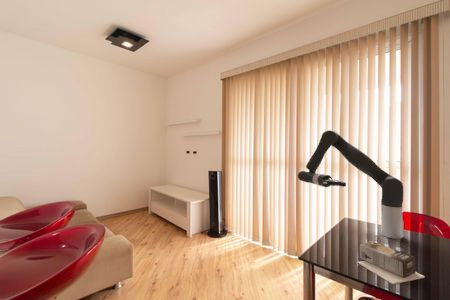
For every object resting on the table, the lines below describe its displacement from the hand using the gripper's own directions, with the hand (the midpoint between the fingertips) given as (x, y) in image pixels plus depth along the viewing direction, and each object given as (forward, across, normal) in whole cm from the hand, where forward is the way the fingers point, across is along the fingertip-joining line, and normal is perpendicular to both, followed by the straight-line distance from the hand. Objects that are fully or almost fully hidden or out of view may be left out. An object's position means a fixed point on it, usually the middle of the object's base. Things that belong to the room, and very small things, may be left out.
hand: (344, 184), depth 110 cm
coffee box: (+17, -6, +26) cm, 32 cm away
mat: (+27, -5, +30) cm, 41 cm away
